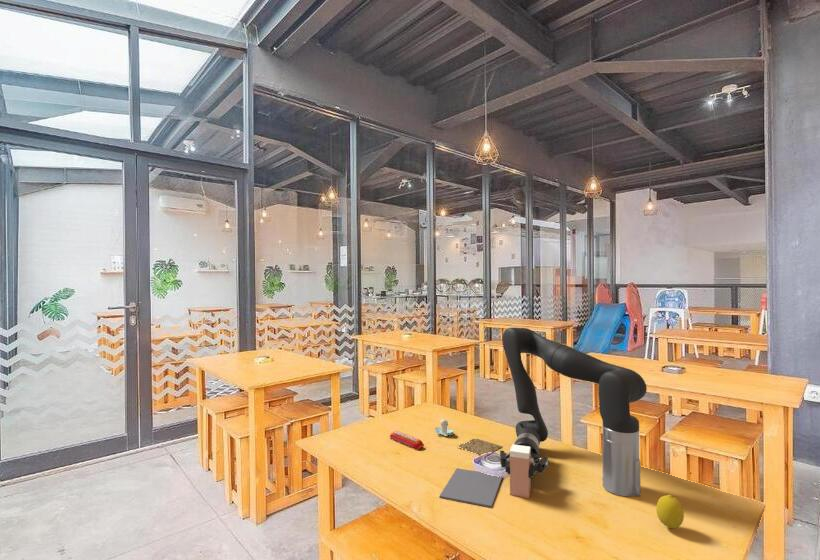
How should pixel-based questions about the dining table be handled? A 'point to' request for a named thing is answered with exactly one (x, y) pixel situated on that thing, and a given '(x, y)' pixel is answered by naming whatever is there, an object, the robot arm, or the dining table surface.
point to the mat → (472, 487)
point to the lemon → (670, 511)
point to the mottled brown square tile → (480, 446)
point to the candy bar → (406, 440)
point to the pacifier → (444, 428)
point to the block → (520, 470)
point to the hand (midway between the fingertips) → (519, 472)
